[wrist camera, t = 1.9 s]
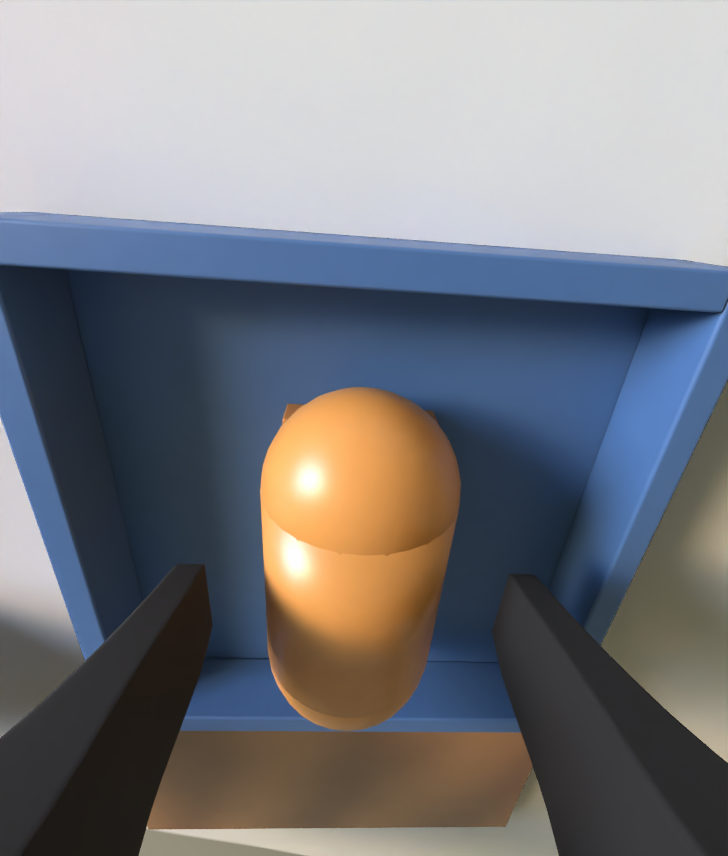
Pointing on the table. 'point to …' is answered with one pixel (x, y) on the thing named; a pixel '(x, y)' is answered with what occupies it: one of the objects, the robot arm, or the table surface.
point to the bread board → (340, 780)
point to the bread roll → (355, 552)
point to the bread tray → (329, 371)
